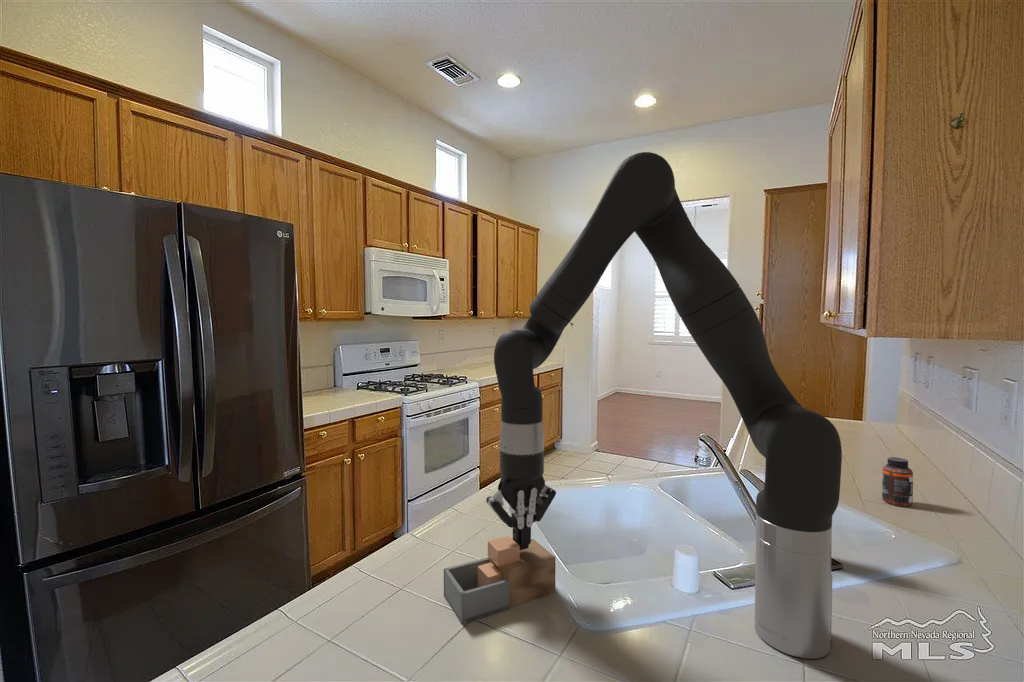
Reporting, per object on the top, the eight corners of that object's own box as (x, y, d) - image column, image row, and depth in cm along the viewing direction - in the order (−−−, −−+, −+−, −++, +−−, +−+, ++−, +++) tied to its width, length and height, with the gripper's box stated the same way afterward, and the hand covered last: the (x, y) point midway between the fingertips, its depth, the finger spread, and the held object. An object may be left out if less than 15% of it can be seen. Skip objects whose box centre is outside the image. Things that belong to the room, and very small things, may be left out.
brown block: (533, 571, 83) (533, 538, 83) (555, 592, 76) (555, 557, 76) (488, 583, 79) (488, 549, 79) (507, 607, 72) (507, 570, 72)
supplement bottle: (919, 507, 113) (920, 462, 112) (894, 507, 113) (895, 462, 112) (899, 498, 119) (900, 455, 118) (876, 498, 119) (876, 455, 118)
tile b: (490, 562, 77) (477, 566, 76) (502, 573, 74) (488, 577, 72) (490, 585, 77) (477, 589, 76) (502, 597, 74) (488, 602, 73)
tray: (487, 583, 79) (487, 557, 79) (509, 609, 72) (509, 581, 72) (443, 595, 75) (443, 568, 75) (461, 624, 68) (461, 594, 68)
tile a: (508, 550, 78) (508, 536, 78) (519, 560, 75) (519, 545, 75) (487, 555, 77) (487, 541, 77) (497, 566, 73) (497, 551, 73)
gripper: (496, 457, 71) (496, 566, 71) (566, 447, 77) (566, 548, 77) (477, 446, 78) (477, 546, 78) (543, 438, 84) (543, 530, 84)
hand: (521, 547), depth 78 cm, fingers closed
